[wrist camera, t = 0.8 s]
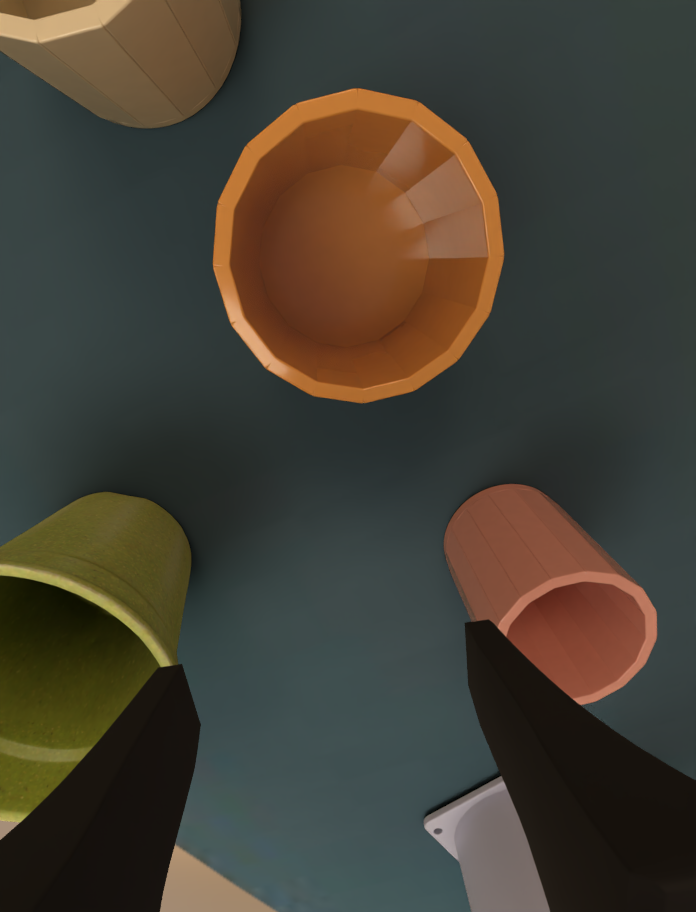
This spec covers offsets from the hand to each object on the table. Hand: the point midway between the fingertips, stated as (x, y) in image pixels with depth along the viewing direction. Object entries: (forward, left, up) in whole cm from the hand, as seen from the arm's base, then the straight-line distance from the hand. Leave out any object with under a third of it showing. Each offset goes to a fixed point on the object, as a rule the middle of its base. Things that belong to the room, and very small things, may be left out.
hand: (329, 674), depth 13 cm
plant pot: (+3, +9, -10) cm, 14 cm away
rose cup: (-7, -5, -10) cm, 13 cm away
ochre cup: (+7, -6, -10) cm, 14 cm away
